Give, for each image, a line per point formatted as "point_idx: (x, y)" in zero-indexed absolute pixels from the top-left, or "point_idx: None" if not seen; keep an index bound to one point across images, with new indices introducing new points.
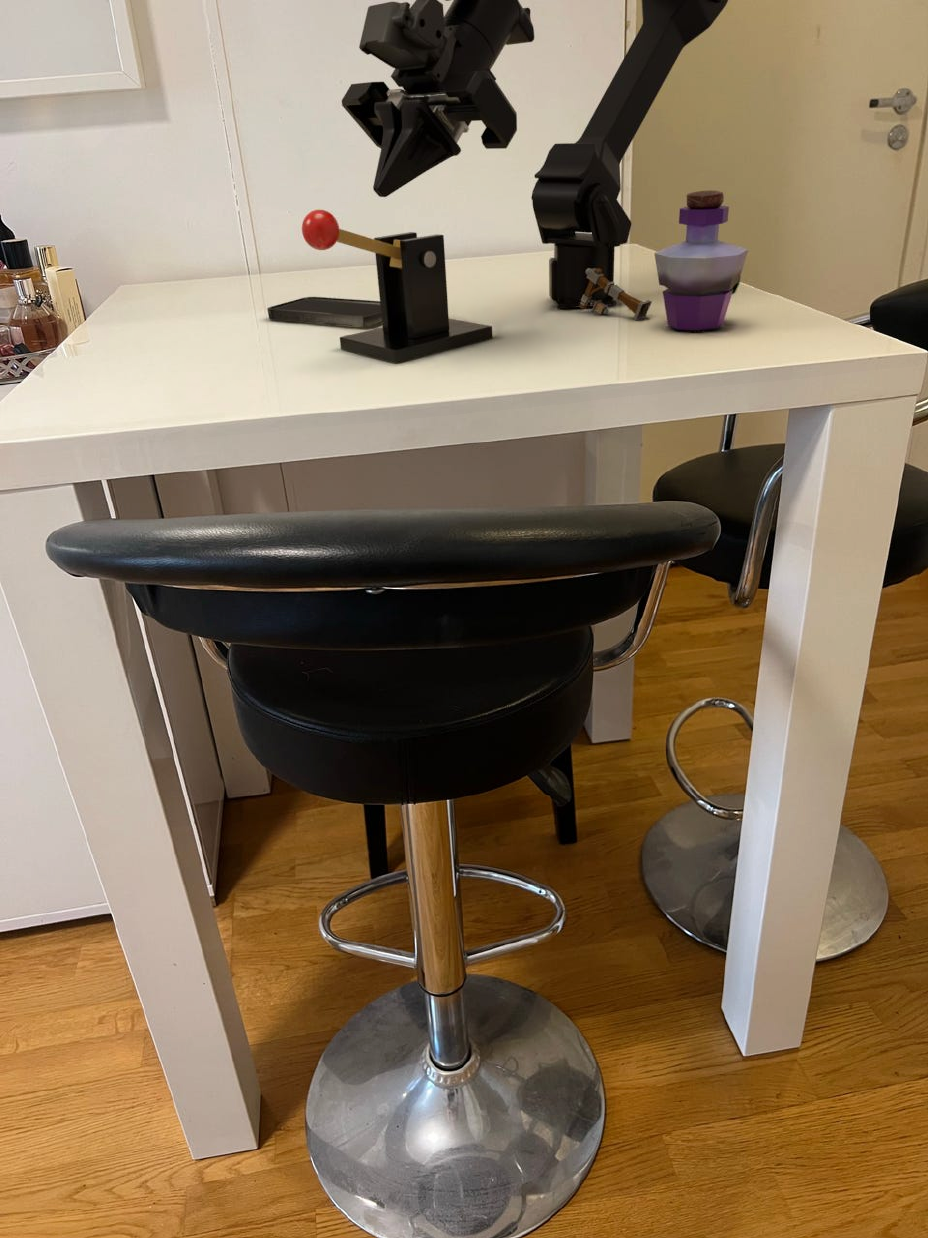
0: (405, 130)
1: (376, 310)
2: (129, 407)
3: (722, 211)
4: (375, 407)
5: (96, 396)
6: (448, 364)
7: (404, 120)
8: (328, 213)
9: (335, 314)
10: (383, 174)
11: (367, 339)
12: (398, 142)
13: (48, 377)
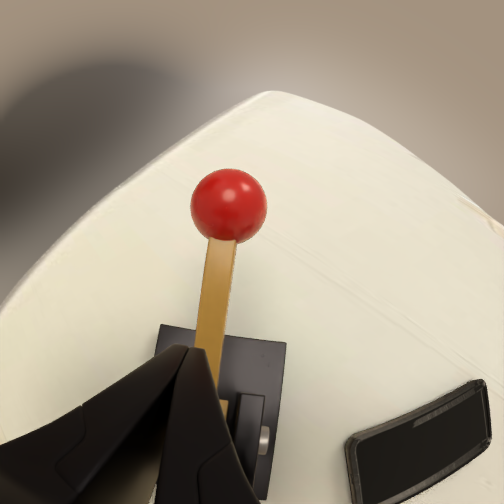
0: (32, 479)
1: (374, 475)
2: (279, 133)
3: None
4: (95, 211)
5: (329, 139)
6: (109, 351)
7: (3, 494)
8: (205, 195)
9: (399, 422)
10: (159, 365)
11: (238, 351)
12: (86, 448)
13: (408, 156)
